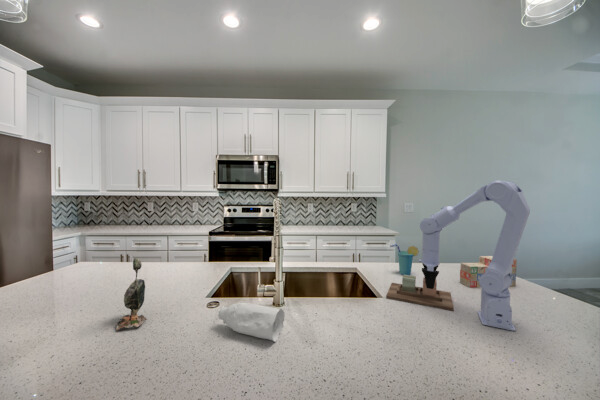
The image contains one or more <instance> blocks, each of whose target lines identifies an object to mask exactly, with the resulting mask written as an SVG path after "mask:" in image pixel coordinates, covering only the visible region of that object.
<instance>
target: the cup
mask: <svg viewBox="0 0 600 400" xmlns="http://www.w3.org/2000/svg"><path fill="white" fill-rule="evenodd" d="M389 246H390V248H392V247H393V248H394V247H397V250H398V251H397V256H398V269H399V271H398V272H399V275H401V274H402V276H403V275H410V276H412V274H411V273H412V267H413V266H412V265H413V257H416V256H418V254H419V252H420V251H419V248H418V247H416V246H414V245H412V246H409V247H408V248H407V251H406V250H405V251H404V250H401V249H400V246H399V245H398V244H396V243H395V244H391V245H389Z"/></svg>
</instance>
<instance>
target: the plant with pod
mask: <svg viewBox="0 0 600 400" xmlns="http://www.w3.org/2000/svg"><path fill="white" fill-rule="evenodd" d="M142 266H143V265H142V260H140V258H138V257H134V258H133V261H132V269H133V271H134V272H135V280H133V282H131V283H130V284H129V286H128V287H127V289H126V291H125V292H124V295H123V303H124V307H125V308H126V309H128V310H130V314H126V315H124V316H122V318H120V319H119V320H118V321H117V322H116V323H115V327H116V329H115V330H116V331H119V330H121V329H123V328H125V329H126V328H129V329H132V328H134V329H137V328H140V327H141V326H142V325H143V323H144V322H146V321H147V317H145V315H143V314H141V315H139V314H138V312H139V311H140V309H141V308H142V306H143V305H144V302H145V290H146V282H145V280H144V279H142V278H140V279H139V278H138V279H137V277H138V273H139V270H141V268H142Z"/></svg>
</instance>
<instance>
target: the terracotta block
mask: <svg viewBox="0 0 600 400" xmlns="http://www.w3.org/2000/svg"><path fill="white" fill-rule="evenodd" d="M437 284H438V283H437V279H436V280H435V284H434V288H433V289H429V288H427V287H426V281H425V277H423V278H422V288H423V295H429V296H434V297H436V290H437Z"/></svg>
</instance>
